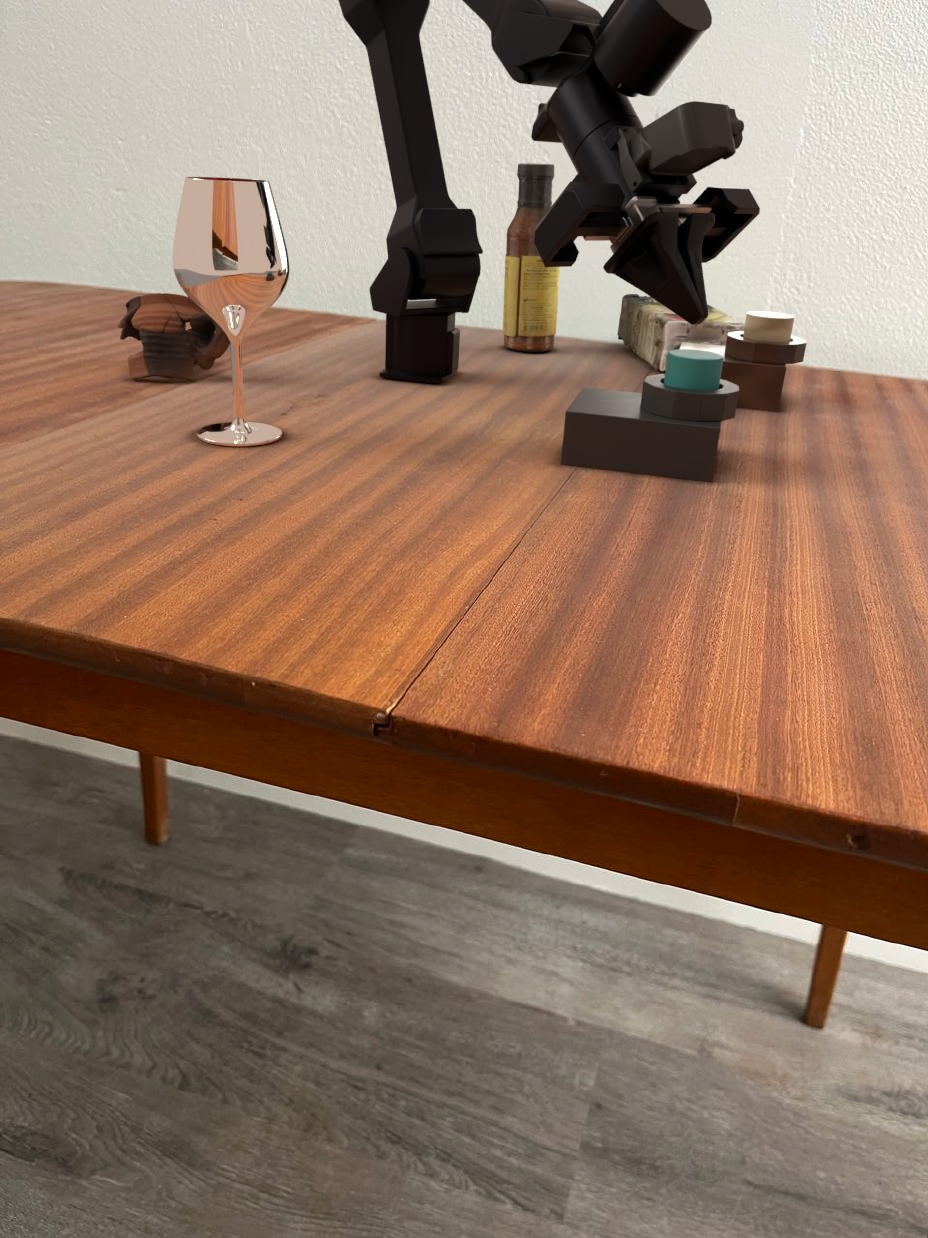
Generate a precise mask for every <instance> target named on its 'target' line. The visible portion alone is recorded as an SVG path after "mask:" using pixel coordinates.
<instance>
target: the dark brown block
mask: <svg viewBox="0 0 928 1238" xmlns="http://www.w3.org/2000/svg"><path fill="white" fill-rule="evenodd" d="M664 378H665V373H657V374H651V375H647V376H645V378H644V379H643V382H642V389H641V392H635V391H624V390H617V389H616V390H615V389H606V388H605V389H604V388H594V387H587V386H582V388H581V389H580V391H579V392H578V394H577V395H576V396H575V397H574V399H573V401H572V402H571V403H570V405H569V406H568V408H567V409H566V411H565V415H564V424H563V425H564V426H563V435H562V446H561V454H560V455H561V456H560V465H561V466H569V467H571V466H572V467H579V468H587V469H594V470H595V469H596V470H604V471H612V472H621V473H629V474H637V475H645V476H653V477H654V476H655V477H663V478H671V479H679V480H688V481H695V482H696V481H697V482H705V483H713V478H714V472H715V465H716V459H717V453H718V447H719V441H720V435H721V429H722V428H721V427H722V422H724V421H725V422H726V421H728V420H732V419H736V414H737V409H738V408H737V402H738V396H739V386H738V385H736V384H733V383H731V382H729V381H726V380H722V379H720V384H719V389H718V390H701V391H700V390H690V389H681V388H676V387H671V386H667V385H665V384H664Z"/></svg>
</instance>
